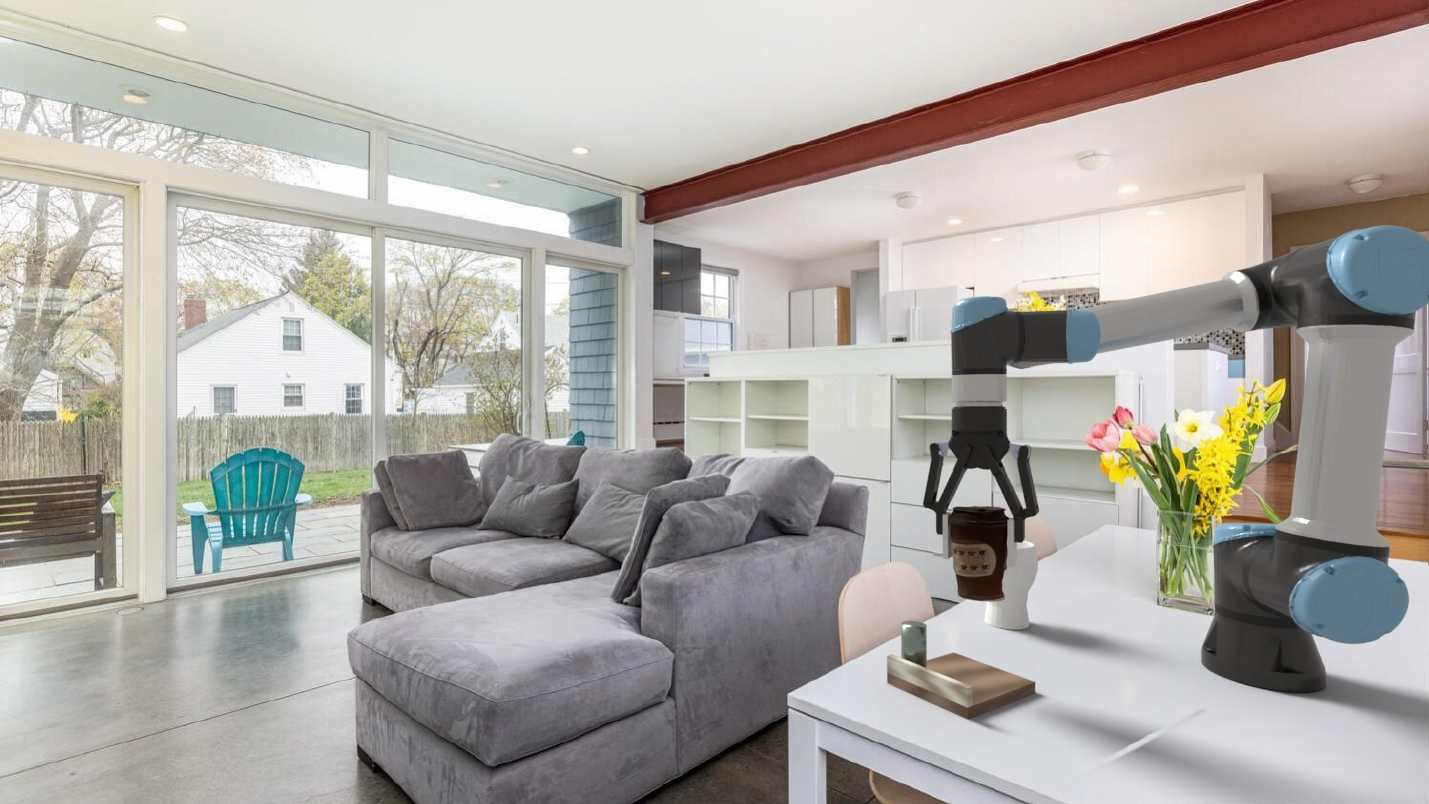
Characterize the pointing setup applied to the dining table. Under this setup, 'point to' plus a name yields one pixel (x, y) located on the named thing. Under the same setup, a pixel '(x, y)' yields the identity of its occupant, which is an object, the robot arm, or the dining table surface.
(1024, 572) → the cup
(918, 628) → the green cylinder
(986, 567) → the coffee cup
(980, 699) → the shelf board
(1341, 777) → the dining table surface
